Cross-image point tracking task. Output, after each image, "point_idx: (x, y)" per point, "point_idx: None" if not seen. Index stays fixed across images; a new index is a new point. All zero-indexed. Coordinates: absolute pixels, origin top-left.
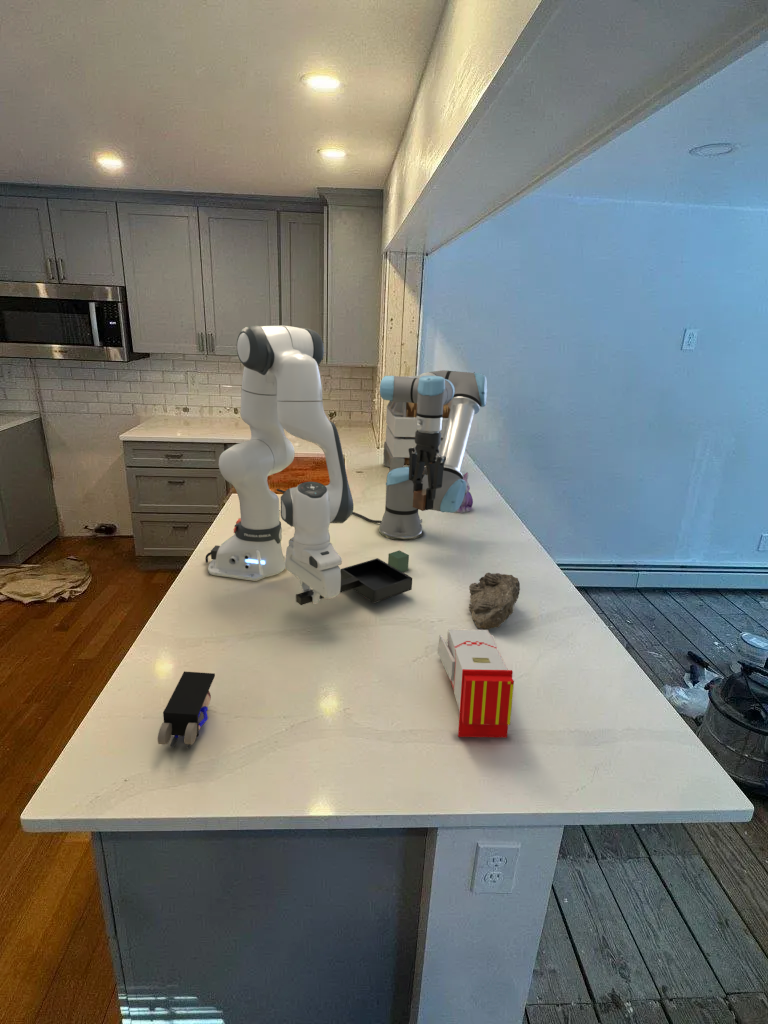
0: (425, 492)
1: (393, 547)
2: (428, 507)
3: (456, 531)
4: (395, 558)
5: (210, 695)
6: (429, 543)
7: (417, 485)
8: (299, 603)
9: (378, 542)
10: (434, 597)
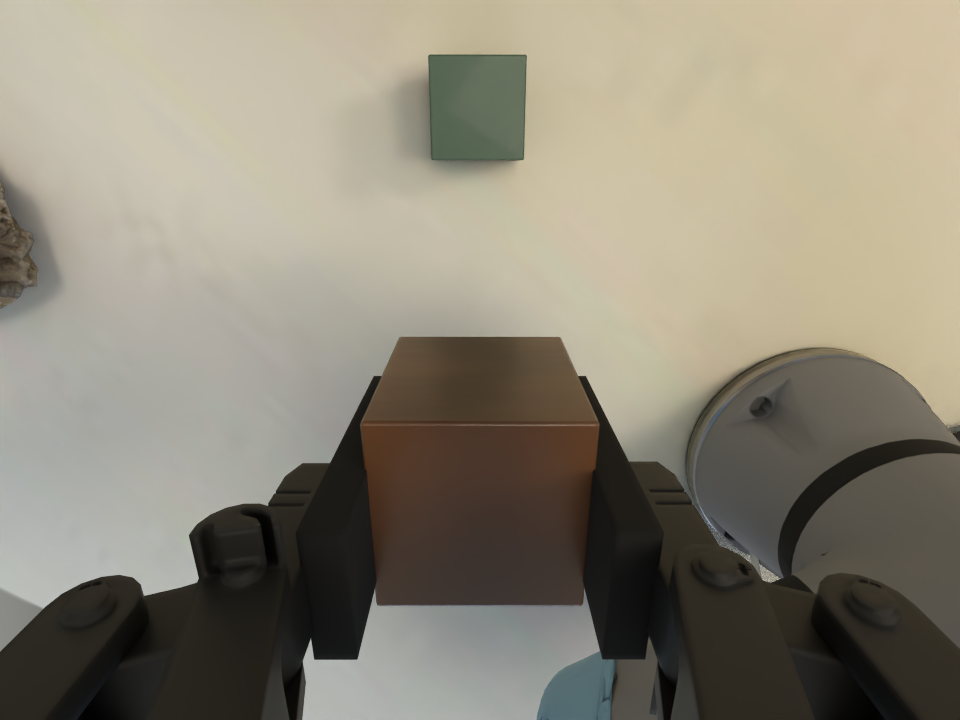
0: (449, 526)
1: (694, 296)
2: None
3: None
4: (454, 55)
5: None
6: None
7: (612, 549)
8: None
9: (797, 274)
10: (112, 41)
